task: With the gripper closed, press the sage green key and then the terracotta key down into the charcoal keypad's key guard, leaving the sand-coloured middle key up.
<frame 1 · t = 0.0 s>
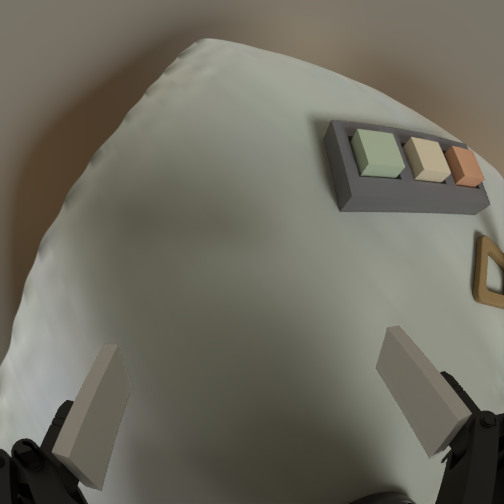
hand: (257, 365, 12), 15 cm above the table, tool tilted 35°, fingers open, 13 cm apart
terracotta key: (463, 167, 31), point 5 cm above the table, slide at 0.0 cm
sage key: (376, 154, 30), point 4 cm above the table, slide at 0.0 cm
headphone stand: (493, 278, 31), on the table
keypad: (410, 177, 34), on the table
sand key: (426, 160, 30), point 4 cm above the table, slide at 0.0 cm
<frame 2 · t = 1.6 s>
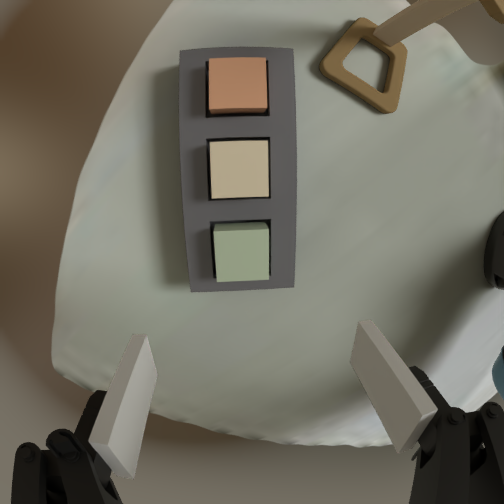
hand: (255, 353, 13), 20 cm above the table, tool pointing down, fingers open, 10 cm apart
terracotta key: (237, 85, 23), point 4 cm above the table, slide at 0.0 cm
sage key: (241, 251, 28), point 4 cm above the table, slide at 0.0 cm
headphone stand: (368, 62, 26), on the table
keypad: (237, 167, 29), on the table
sand key: (239, 168, 25), point 4 cm above the table, slide at 0.0 cm
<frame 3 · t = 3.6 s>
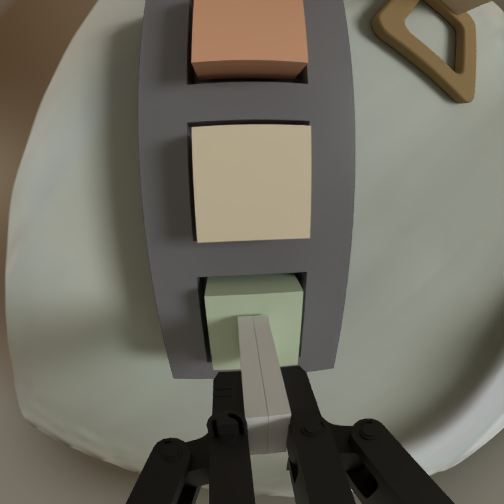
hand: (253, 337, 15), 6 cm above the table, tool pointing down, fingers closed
terracotta key: (247, 27, 10), point 5 cm above the table, slide at 0.0 cm
sage key: (253, 320, 16), point 4 cm above the table, slide at 0.7 cm, touching gripper
headphone stand: (431, 30, 14), on the table
keypad: (245, 174, 17), on the table
sand key: (250, 180, 13), point 4 cm above the table, slide at 0.0 cm
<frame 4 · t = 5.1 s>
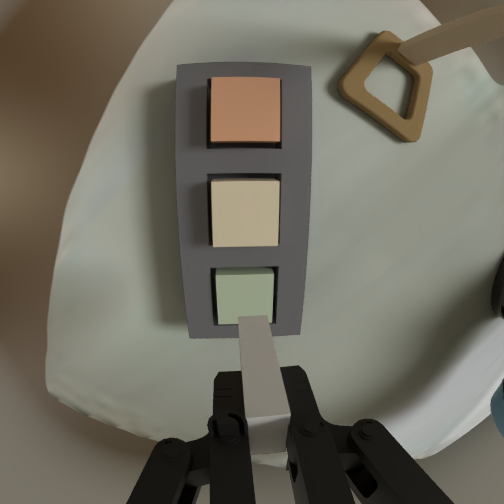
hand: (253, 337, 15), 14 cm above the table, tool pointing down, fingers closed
terracotta key: (244, 111, 20), point 4 cm above the table, slide at 0.0 cm
sage key: (244, 292, 26), point 3 cm above the table, slide at 1.5 cm
headphone stand: (390, 82, 24), on the table
keypad: (242, 202, 27), on the table
sand key: (244, 210, 22), point 5 cm above the table, slide at 0.0 cm
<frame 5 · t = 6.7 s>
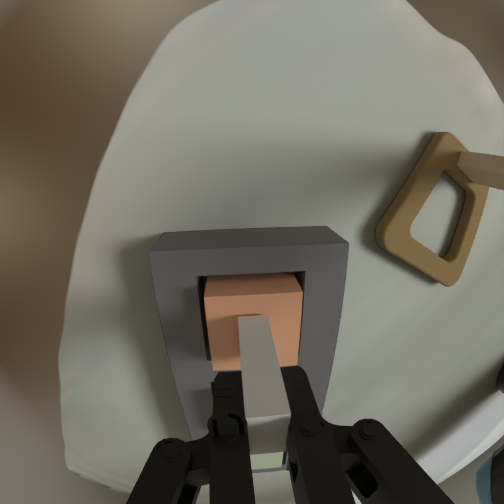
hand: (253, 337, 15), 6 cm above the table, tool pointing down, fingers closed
terracotta key: (252, 320, 16), point 4 cm above the table, slide at 0.5 cm, touching gripper
sage key: (255, 447, 22), point 3 cm above the table, slide at 1.5 cm
headphone stand: (439, 207, 19), on the table
keypad: (250, 372, 23), on the table
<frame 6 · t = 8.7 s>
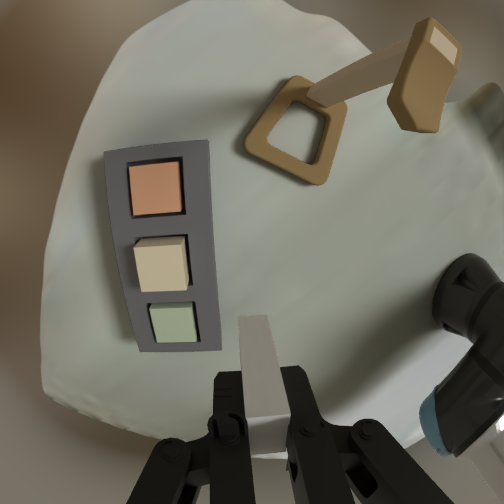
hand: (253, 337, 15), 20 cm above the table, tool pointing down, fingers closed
terracotta key: (157, 187, 28), point 3 cm above the table, slide at 1.5 cm
sage key: (174, 319, 33), point 3 cm above the table, slide at 1.5 cm
headphone stand: (300, 127, 30), on the table
keypad: (169, 249, 33), on the table
sand key: (162, 263, 29), point 4 cm above the table, slide at 0.0 cm
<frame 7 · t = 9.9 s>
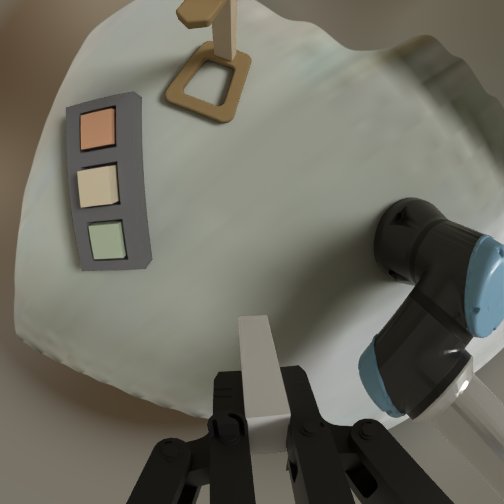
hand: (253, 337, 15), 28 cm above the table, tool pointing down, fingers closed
terracotta key: (100, 129, 32), point 3 cm above the table, slide at 1.5 cm
sage key: (109, 239, 38), point 3 cm above the table, slide at 1.5 cm
headphone stand: (212, 80, 35), on the table
keypad: (110, 182, 38), on the table
sand key: (98, 185, 34), point 4 cm above the table, slide at 0.0 cm
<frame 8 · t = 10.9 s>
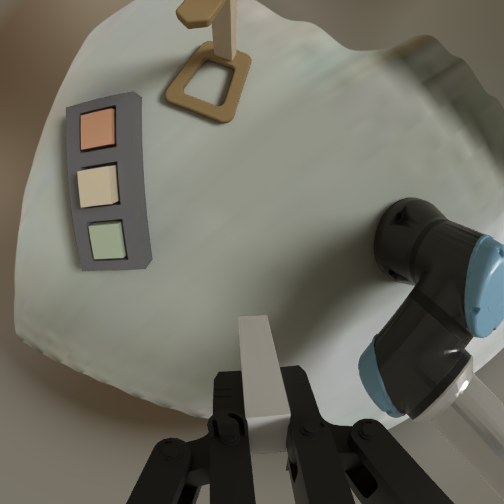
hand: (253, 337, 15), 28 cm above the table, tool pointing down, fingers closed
terracotta key: (100, 129, 32), point 3 cm above the table, slide at 1.5 cm
sage key: (109, 238, 38), point 3 cm above the table, slide at 1.5 cm
headphone stand: (212, 80, 35), on the table
keypad: (110, 182, 38), on the table
sand key: (98, 185, 34), point 5 cm above the table, slide at 0.0 cm
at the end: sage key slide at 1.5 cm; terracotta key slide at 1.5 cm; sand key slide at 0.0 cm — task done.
